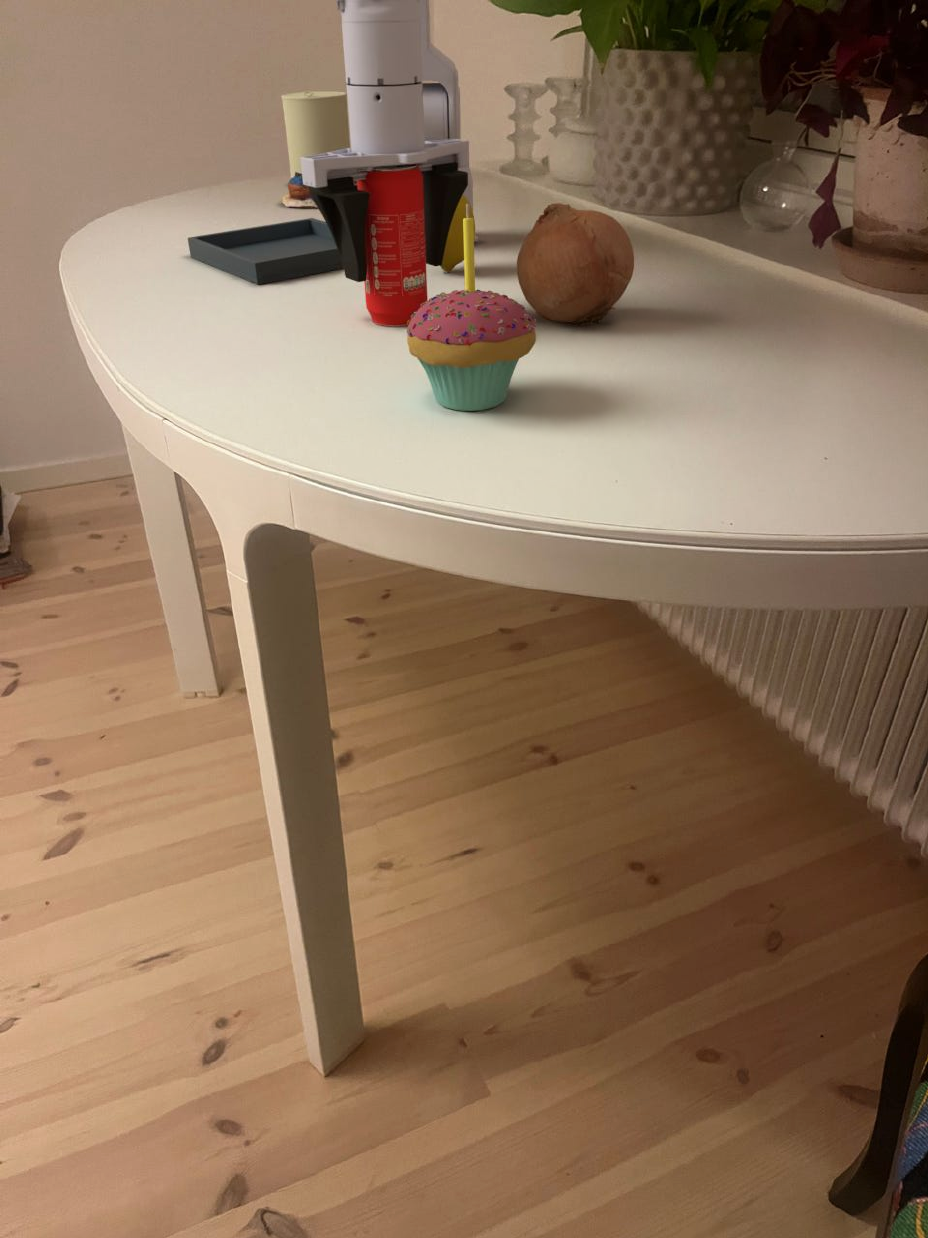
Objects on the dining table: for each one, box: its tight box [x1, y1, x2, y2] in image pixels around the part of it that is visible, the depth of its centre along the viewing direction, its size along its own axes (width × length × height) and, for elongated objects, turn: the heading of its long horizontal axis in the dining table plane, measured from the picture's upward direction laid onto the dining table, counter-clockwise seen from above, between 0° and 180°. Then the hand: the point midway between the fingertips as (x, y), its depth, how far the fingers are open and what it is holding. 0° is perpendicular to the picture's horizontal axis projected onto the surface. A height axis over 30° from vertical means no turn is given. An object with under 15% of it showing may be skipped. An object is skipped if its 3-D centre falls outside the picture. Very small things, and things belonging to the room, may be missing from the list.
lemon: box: [439, 195, 476, 273], centre depth 91 cm, size 6×6×8 cm
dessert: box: [282, 172, 318, 208], centre depth 125 cm, size 8×7×6 cm
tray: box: [187, 217, 344, 286], centre depth 99 cm, size 15×15×2 cm
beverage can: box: [356, 163, 429, 328], centre depth 77 cm, size 5×5×12 cm
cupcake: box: [406, 204, 537, 412], centre depth 61 cm, size 9×8×12 cm
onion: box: [516, 202, 635, 326], centre depth 77 cm, size 10×9×10 cm
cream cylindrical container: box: [281, 90, 355, 183], centre depth 135 cm, size 9×9×12 cm
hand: (394, 271), depth 78 cm, fingers open, 7 cm apart
